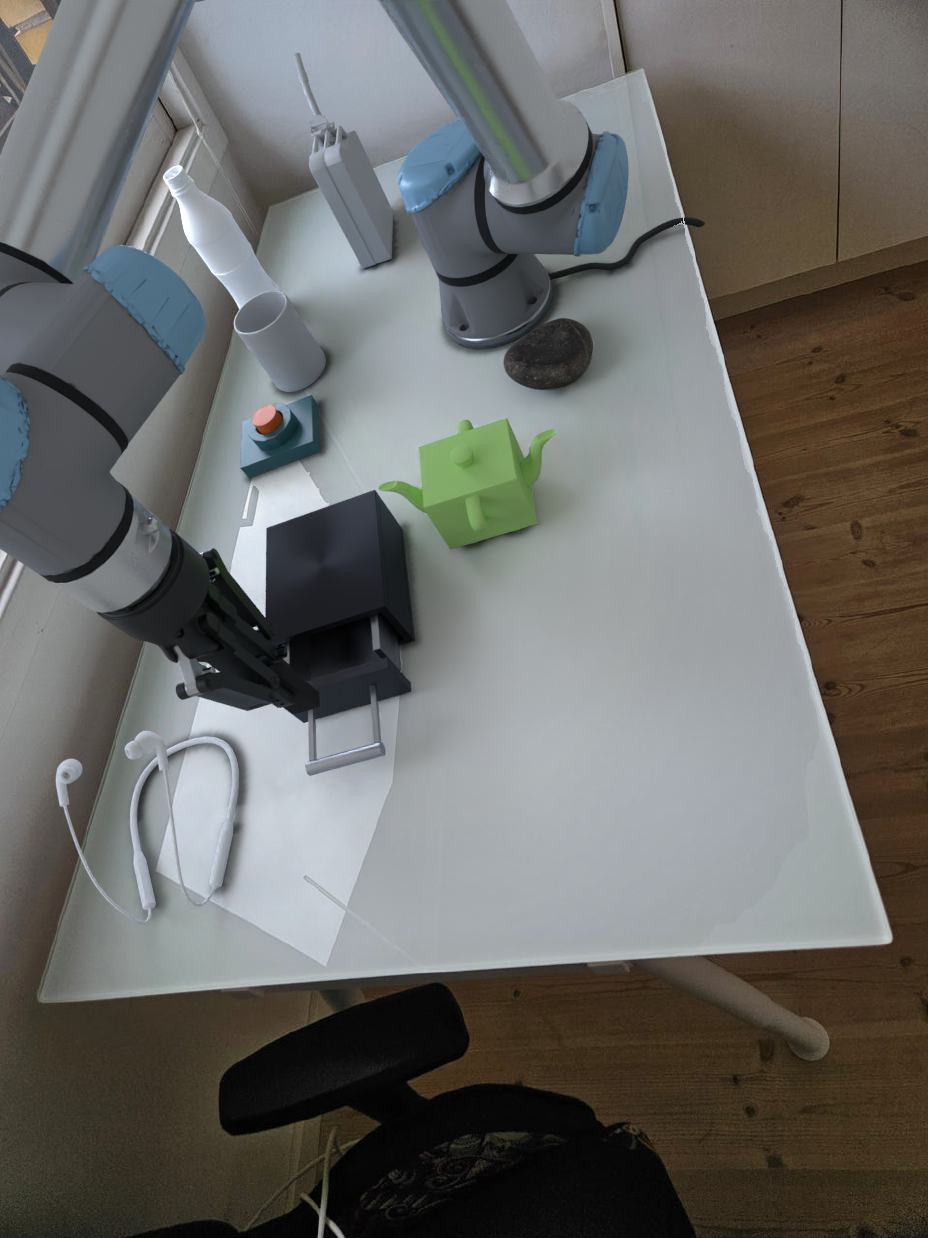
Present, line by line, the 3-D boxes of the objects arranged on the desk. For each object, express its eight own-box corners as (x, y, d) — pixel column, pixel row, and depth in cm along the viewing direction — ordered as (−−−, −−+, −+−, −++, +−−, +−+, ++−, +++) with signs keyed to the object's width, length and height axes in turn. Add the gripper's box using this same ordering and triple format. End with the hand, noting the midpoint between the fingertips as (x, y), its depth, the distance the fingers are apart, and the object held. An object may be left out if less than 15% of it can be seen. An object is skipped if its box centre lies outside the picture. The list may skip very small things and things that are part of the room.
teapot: (577, 485, 91) (554, 421, 82) (514, 580, 87) (482, 524, 79) (472, 451, 99) (440, 389, 90) (410, 537, 96) (371, 481, 87)
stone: (515, 344, 105) (504, 314, 101) (597, 327, 102) (588, 295, 98) (510, 410, 100) (498, 381, 96) (596, 393, 96) (587, 362, 92)
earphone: (100, 948, 78) (23, 778, 77) (183, 869, 94) (120, 728, 93) (222, 909, 76) (146, 733, 74) (285, 835, 92) (224, 689, 90)
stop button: (282, 410, 110) (275, 401, 108) (282, 429, 108) (275, 420, 106) (259, 419, 111) (252, 410, 109) (258, 438, 109) (251, 429, 107)
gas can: (365, 212, 134) (287, 54, 113) (393, 201, 132) (318, 39, 112) (362, 271, 126) (277, 112, 106) (391, 260, 124) (311, 97, 104)
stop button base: (319, 405, 113) (305, 385, 110) (321, 451, 108) (306, 431, 105) (250, 431, 116) (234, 412, 113) (249, 478, 111) (232, 459, 108)
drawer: (418, 761, 80) (394, 739, 75) (304, 791, 82) (274, 772, 78) (400, 578, 92) (378, 550, 87) (301, 610, 95) (274, 584, 90)
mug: (323, 384, 115) (283, 325, 106) (271, 398, 118) (227, 341, 109) (332, 326, 121) (295, 265, 112) (282, 341, 124) (242, 282, 115)
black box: (415, 641, 88) (385, 605, 82) (302, 675, 91) (264, 644, 85) (403, 529, 97) (375, 489, 90) (300, 563, 100) (266, 527, 93)
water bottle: (299, 301, 128) (204, 151, 107) (282, 334, 125) (180, 187, 105) (264, 304, 131) (164, 158, 111) (246, 337, 128) (140, 193, 108)
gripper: (171, 633, 50) (346, 759, 70) (184, 478, 57) (340, 631, 77) (72, 666, 52) (270, 780, 71) (96, 511, 59) (270, 653, 78)
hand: (306, 703), depth 74 cm, fingers closed
